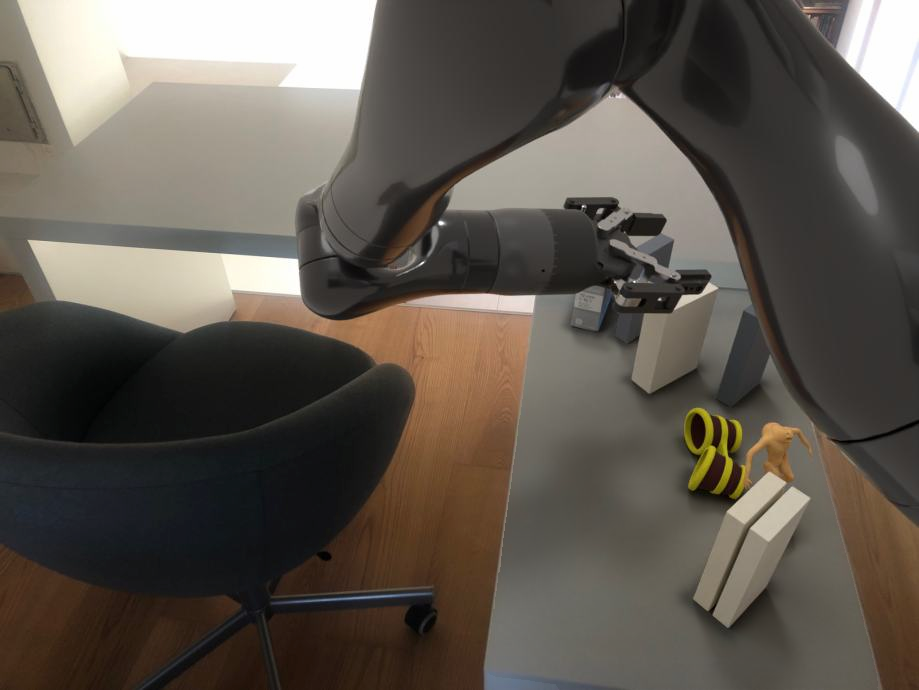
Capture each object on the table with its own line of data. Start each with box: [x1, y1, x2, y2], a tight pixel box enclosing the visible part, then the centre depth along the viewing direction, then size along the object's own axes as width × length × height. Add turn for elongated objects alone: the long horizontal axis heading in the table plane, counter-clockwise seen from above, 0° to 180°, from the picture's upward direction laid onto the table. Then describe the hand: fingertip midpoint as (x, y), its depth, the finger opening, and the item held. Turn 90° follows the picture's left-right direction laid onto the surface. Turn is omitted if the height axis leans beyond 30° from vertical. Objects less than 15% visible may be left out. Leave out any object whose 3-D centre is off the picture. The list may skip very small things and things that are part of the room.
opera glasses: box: [683, 407, 745, 500], centre depth 71 cm, size 10×5×5 cm, turn 169°
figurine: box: [743, 422, 813, 498], centre depth 64 cm, size 8×6×12 cm
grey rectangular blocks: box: [614, 232, 771, 408], centre depth 81 cm, size 17×6×13 cm, turn 40°
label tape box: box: [570, 286, 613, 332], centre depth 89 cm, size 9×4×12 cm, turn 159°
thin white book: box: [631, 281, 719, 395], centre depth 80 cm, size 3×8×12 cm, turn 123°
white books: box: [692, 472, 812, 629], centre depth 58 cm, size 4×6×13 cm, turn 130°
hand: (683, 251), depth 66 cm, fingers open, 8 cm apart
